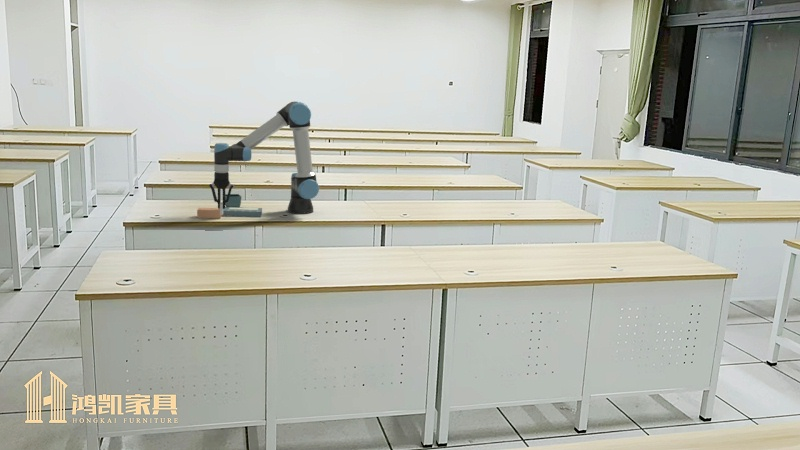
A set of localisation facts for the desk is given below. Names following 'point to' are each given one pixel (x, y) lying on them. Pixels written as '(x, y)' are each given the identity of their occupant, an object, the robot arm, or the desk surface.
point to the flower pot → (233, 200)
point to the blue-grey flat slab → (242, 212)
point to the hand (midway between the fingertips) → (221, 214)
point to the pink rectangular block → (208, 213)
